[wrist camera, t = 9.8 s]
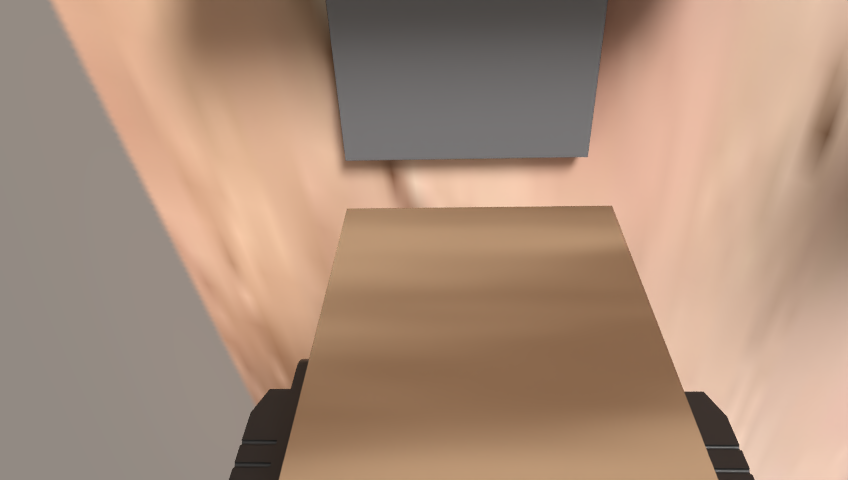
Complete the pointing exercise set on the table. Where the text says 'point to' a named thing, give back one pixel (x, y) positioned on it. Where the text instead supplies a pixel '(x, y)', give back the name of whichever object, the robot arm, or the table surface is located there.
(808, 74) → the table surface
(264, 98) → the table surface
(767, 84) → the table surface
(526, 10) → the dark gray upright panel
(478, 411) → the wooden block
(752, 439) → the table surface
